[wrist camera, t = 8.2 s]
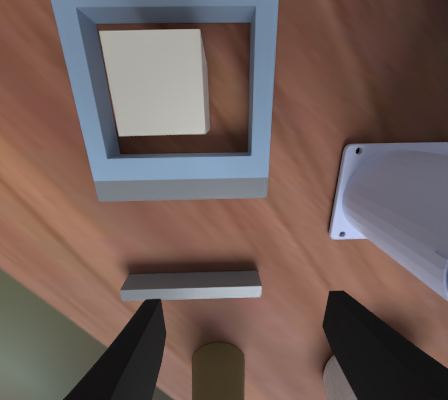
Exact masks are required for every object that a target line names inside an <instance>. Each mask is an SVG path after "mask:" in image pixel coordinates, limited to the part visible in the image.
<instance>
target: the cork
mask: <svg viewBox="0 0 448 400" xmlns="http://www.w3.org/2000/svg"><path fill="white" fill-rule="evenodd" d="M244 377H245V359H244V355H243V353H242V352H241V350H240V349H238V348H237V347H236V346H233V345H231V344H228V343H220V342H219V343H210V344H207V345H205V346H202V347H201V348H199V349H198V350H197V351H196V352H195V354H194V355H193V358H192V400H244Z"/></svg>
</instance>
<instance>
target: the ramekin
mask: <svg viewBox="0 0 448 400" xmlns="http://www.w3.org/2000/svg"><path fill="white" fill-rule="evenodd" d="M323 384H324V388H325V392H326V396H327V400H357V398H356V396H355V394H354V392H353V390H352V388H351V387H350V385H349V383H348V381H347V379H346V377H345V375H344V373H343V371H342V369H341V367H340V365H339V364H338V362H337V360H336V358H335V356H334V355H333V356H332V357H331V358H330V359H329V361H328V362H327V364H326V366H325V369H324V374H323Z"/></svg>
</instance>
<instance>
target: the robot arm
mask: <svg viewBox="0 0 448 400" xmlns="http://www.w3.org/2000/svg"><path fill="white" fill-rule="evenodd" d="M357 148H359V149H360V150H359V152H358V153H357V154H356V149H357ZM341 232H343V233H342V234H341V235H339V234H340V233H341ZM329 236H330V237H331V238H332V239H369V240H370V241H371V242H372V243H374V244H375V245H376V246H378V247H379V248H380V249H381V250H383V251H384V252H385V253H387V254H388V255H389V256H390V257H392V258H393V259H394V260H396V261H397V262H398V263H399V264H401V265H402V266H403V267H404V268H406V269H407V270H408V271H410V272H411V273H412V274H413V275H415V276H416V277H417V278H419V279H420V280H421V281H422V282H424V283H425V284H426V285H428V286H429V287H430V288H431V289H433V290H434V291H435V292H436V293H438V294H439V295H440V296H442V297H443V298H444V299H445V300H447V301H448V142H420V143H365V144H348V145H347V146H346V147H345V148H344V150H343V155H342V161H341V167H340V172H339V178H338V183H337V189H336V195H335V200H334V206H333V212H332V217H331V223H330V228H329ZM323 329H324V332H325V334H326V337H327V339H328V342H329V344H330V347H331V349H332V352H333V354H334V356H335V358H336V360H337V362H338V364H339V365H340V367H341V369H342V371H343V373H344V375H345V377H346V379H347V381H348V383H349V385H350V387H351V388H352V390H353V392H354V394H355V396H356V398H357V400H448V368H446V367H445V366H443V365H442V364H440V363H439V362H438V361H436V360H435V359H433V358H432V357H430V356H429V355H428V354H426V353H425V352H423V351H422V350H421V349H419V348H418V347H416V346H415V345H414V344H412V343H411V342H410V341H408V340H407V339H406V338H404V337H403V336H402V335H400V334H399V333H398V332H396V331H395V330H394V329H392V328H391V327H390V326H388V325H387V324H386V323H385V322H383V321H382V320H381V319H379V318H378V317H377V316H376V315H374V314H373V313H372V312H370V311H369V310H368V309H367V308H365V307H364V306H363V305H361V304H360V303H359V302H358V301H356V300H355V299H354V298H352V297H351V296H350V295H349V294H347V293H346V292H344V291H329V296H328V301H327V306H326V311H325V316H324V321H323ZM165 338H166V329H165V323H164V316H163V309H162V303H161V299H146V300H145V301H144V302H143V303H142V305H141V306H140V307H139V309H138V310H137V311H136V313H135V314H134V316H133V317H132V318H131V320H130V321H129V322H128V323H127V325H126V326H125V327H124V329H123V330H122V331H121V333H120V334H119V335H118V336H117V338H116V339H115V340H114V341H113V343H112V344H111V345H110V346H109V348H108V349H107V350H106V351H105V353H104V354H103V355H102V356H101V357H100V358H99V360H98V361H97V362H96V363H95V364H94V365H93V367H92V368H91V369H90V370H89V371H88V372H87V374H86V375H85V376H84V377H83V378H82V380H81V381H80V382H79V383H78V384H77V385H76V386H75V387H74V388H73V390H72V391H71V392H70V393H69V394H68V395H67V396H66V397H65V398H64V399H63V400H152V396H153V393H154V389H155V386H156V382H157V378H158V374H159V370H160V366H161V362H162V357H163V351H164V345H165Z"/></svg>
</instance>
